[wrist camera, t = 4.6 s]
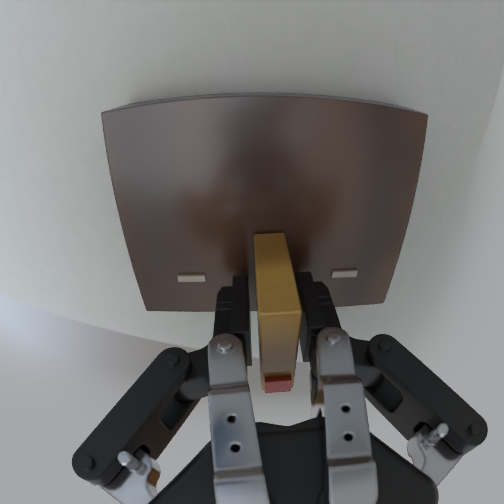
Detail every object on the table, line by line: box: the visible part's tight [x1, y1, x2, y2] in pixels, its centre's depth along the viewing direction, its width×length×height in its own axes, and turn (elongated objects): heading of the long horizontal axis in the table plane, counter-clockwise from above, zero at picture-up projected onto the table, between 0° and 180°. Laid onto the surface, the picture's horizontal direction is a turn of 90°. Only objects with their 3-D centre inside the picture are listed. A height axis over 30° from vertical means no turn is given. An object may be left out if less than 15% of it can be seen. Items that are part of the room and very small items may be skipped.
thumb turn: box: [254, 233, 302, 393], centre depth 12 cm, size 5×1×5 cm, turn 3°
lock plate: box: [101, 93, 428, 312], centre depth 14 cm, size 14×11×3 cm
